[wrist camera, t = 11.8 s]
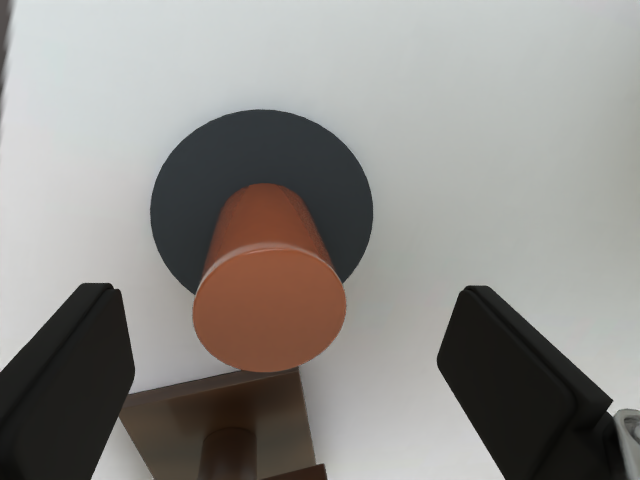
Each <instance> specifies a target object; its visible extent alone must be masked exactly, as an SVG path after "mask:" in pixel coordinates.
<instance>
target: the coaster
mask: <svg viewBox="0 0 640 480" xmlns="http://www.w3.org/2000/svg"><path fill="white" fill-rule="evenodd" d="M259 183H271V184H277V185H281V186H283V187H286V188H288V189H290V190H292V191H293V192H295V193H296V194H297V195H299V196H300V197H301V198H302V199H303V201H304V202H305V203H306V205H307V206H308V208H309V210H310V212H311V215H312V217H313V219H314V222H315V224H316V226H317V228H318V231H319V233H320V235H321V237H322V240H323V242H324V244H325V246H326V249H327V251H328V253H329V256H330V258H331V260H332V262H333V265H334V267H335V269H336V271H337V274H338V276H339V278H340V280H341V283H343V282H344V281H345V280H346V279H347V278H348V277H349V276H350V275H351V274H352V272H353V271H354V269H355V268H356V267H357V265H358V264H359V262H360V260H361V258H362V256H363V254H364V252H365V250H366V247H367V245H368V242H369V238H370V234H371V230H372V222H373V203H372V196H371V191H370V187H369V184H368V181H367V178H366V176H365V174H364V171H363V169H362V167H361V165H360V164H359V162H358V161H357V159H356V158H355V156H354V155H353V153H352V152H351V151H350V150H349V149H348V148H347V146H346V145H345V144H344V143H343V142H342V141H341V140H339V139H338V138H337V137H336V136H335V135H334V134H332V133H331V132H329V131H328V130H326V129H325V128H323V127H322V126H320V125H319V124H317V123H315V122H312V121H310V120H308V119H306V118H304V117H301V116H298V115H295V114H291V113H288V112H282V111H276V110H248V111H240V112H236V113H232V114H228V115H224V116H222V117H220V118H217V119H215V120H212V121H210V122H208V123H207V124H205V125H203V126H201V127H200V128H198V129H196V130H195V131H194V132H193V133H191V134H190V135H189V136H188V137H186V138H185V139H184V140H183V141H182V142H181V143H180V144H179V145H178V146H177V147H176V148H175V149H174V150H173V151H172V153H171V154H170V155H169V157H168V158H167V160H166V161H165V163H164V164H163V166H162V168H161V170H160V172H159V175H158V177H157V179H156V182H155V186H154V189H153V193H152V199H151V207H150V215H151V227H152V232H153V237H154V240H155V243H156V246H157V249H158V251H159V253H160V255H161V257H162V259H163V261H164V263H165V264H166V266H167V267H168V269H169V270H170V272H171V273H172V274H173V275H174V277H175V278H176V279H177V280H178V281H179V282H180V283H181V284H182V285H183V286H184V287H186V288H187V289H188V290H189V291H190V292H191V293H193V294H194V295H196V291H197V288H198V284H199V281H200V277H201V274H202V270H203V267H204V263H205V260H206V256H207V253H208V249H209V245H210V242H211V238H212V235H213V231H214V228H215V224H216V221H217V217H218V214H219V212H220V209H221V208H222V206H223V204H224V203H225V202H226V200H227V199H228V198H229V197H230V196H231V195H233V194H234V193H235V192H237V191H238V190H240V189H242V188H244V187H247V186H249V185H253V184H259Z"/></svg>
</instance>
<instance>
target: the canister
mask: <svg viewBox="0 0 640 480" xmlns="http://www.w3.org/2000/svg"><path fill="white" fill-rule="evenodd" d="M346 307H347V304H346V295H345V290H344V288H343V285H342V283H341V280H340V278H339V276H338V274H337V271H336V269H335V267H334V265H333V262H332V260H331V258H330V256H329V253H328V251H327V249H326V246H325V244H324V242H323V240H322V237H321V235H320V233H319V231H318V228H317V226H316V224H315V222H314V219H313V217H312V215H311V212H310V210H309V208H308V206H307V205H306V203H305V202H304V201H303V199H302V198H301V197H300V196H299V195H297V194H296V193H295V192H293V191H292V190H290V189H288V188H286V187H283V186H281V185H277V184H271V183H259V184H253V185H249V186H247V187H244V188H242V189H240V190H238V191H237V192H235V193H234V194H233V195H231V196H230V197H229V198H228V199H227V200H226V202H225V203H224V204H223V206H222V208H221V209H220V212H219V214H218V217H217V221H216V224H215V228H214V231H213V235H212V238H211V242H210V245H209V249H208V253H207V256H206V260H205V263H204V267H203V270H202V274H201V277H200V281H199V284H198V288H197V291H196V295H195V298H194V303H193V308H192V319H193V325H194V328H195V331H196V334H197V336H198V338H199V340H200V342H201V343H202V345H203V346H204V347H205V349H206V350H207V351H208V352H209V353H210V354H211V355H213V356H214V357H215V358H217V359H218V360H220V361H222V362H223V363H225V364H227V365H229V366H232V367H234V368H238V369H241V370H245V371H251V372H277V371H282V370H287V369H291V368H294V367H297V366H299V365H302V364H304V363H306V362H308V361H310V360H312V359H313V358H315V357H316V356H318V355H319V354H321V353H322V352H323V351H324V350H325V349H326V348H327V347H328V346H329V345H330V344H331V343H332V342H333V341H334V339H335V338H336V337H337V335H338V333H339V331H340V330H341V327H342V325H343V322H344V319H345V315H346Z"/></svg>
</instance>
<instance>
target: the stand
mask: <svg viewBox="0 0 640 480" xmlns="http://www.w3.org/2000/svg"><path fill="white" fill-rule="evenodd" d="M118 417H119V418H120V420H121V422H122V423H123V425H124V427H125V429H126V430H127V432H128V434H129V436H130V437H131V439H132V441H133V443H134V444H135V446H136V448H137V449H138V451H139V453H140V455H141V456H142V458H143V460H144V462H145V463H146V465H147V467H148V469H149V470H150V472H151V474H152V475H153V477H154V479H155V480H328V479H327V474H326V469H325V465H324V464H319V465H316V460H315V454H314V449H313V443H312V438H311V432H310V427H309V421H308V416H307V410H306V405H305V399H304V393H303V388H302V382H301V377H300V371H299V366H297V367H294V368H291V369H287V370H282V371H277V372H251V371H245V370H243V371H238V372H234V373H229V374H224V375H220V376H215V377H210V378H206V379H201V380H196V381H192V382H187V383H182V384H178V385H173V386H168V387H164V388H159V389H154V390H150V391H145V392H140V393H136V394H131V395H127V397H126V400H125V402H124V404H123V406H122V409H121V411H120V413H119V416H118Z"/></svg>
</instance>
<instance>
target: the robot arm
mask: <svg viewBox="0 0 640 480" xmlns="http://www.w3.org/2000/svg"><path fill="white" fill-rule="evenodd" d="M437 365H438V368H439V370H440V372H441V374H442V375H443V377H444V379H445V380H446V382H447V383H448V385H449V387H450V388H451V390H452V392H453V393H454V395H455V397H456V398H457V400H458V402H459V403H460V405H461V407H462V408H463V410H464V412H465V413H466V415H467V417H468V418H469V420H470V422H471V423H472V425H473V427H474V428H475V430H476V432H477V433H478V435H479V437H480V438H481V440H482V442H483V443H484V445H485V446H486V448H487V450H488V451H489V453H490V455H491V456H492V458H493V460H494V461H495V463H496V465H497V466H498V468H499V470H500V471H501V473H502V475H503V476H504V478H505V480H640V411H638V410H633V409H622V410H619V411H618V412H617V413H616V414H615V415H614V417H612V416H611V415H610V414H609V413H608V412H607V409H608V408H609V406H610V405H611V403H612V402H613V400H612V399H611V398H610V397H609V396H608V395H607V394H606V393H605V392H604V391H602V390H601V389H600V388H599V387H598V386H597V385H596V384H595V383H594V382H593V381H592V380H590V379H589V378H588V377H587V376H586V375H585V374H584V373H583V372H582V371H581V370H580V369H579V368H577V367H576V366H575V365H574V364H573V363H572V362H571V361H570V360H569V359H568V358H567V357H565V356H564V355H563V354H562V353H561V352H560V351H559V350H558V349H557V348H556V347H555V346H553V345H552V344H551V343H550V342H549V341H548V340H547V339H546V338H545V337H544V336H543V335H541V334H540V333H539V332H538V331H537V330H536V329H535V328H534V327H533V326H532V325H531V324H529V323H528V322H527V321H526V320H525V319H524V318H523V317H522V316H521V315H520V314H519V313H517V312H516V311H515V310H514V309H513V308H512V307H511V306H510V305H509V304H508V303H507V302H506V301H504V300H503V299H502V298H501V297H500V296H499V295H498V294H497V293H496V292H495V291H494V290H492V289H491V288H490V287H488V286H466V287H465V288H464V290H463V291H461V292H460V293H459V295H458V298H457V301H456V304H455V307H454V310H453V312H452V315H451V318H450V321H449V324H448V327H447V330H446V333H445V335H444V338H443V341H442V344H441V347H440V350H439V353H438V356H437ZM134 376H135V366H134V360H133V355H132V349H131V344H130V338H129V333H128V327H127V322H126V316H125V311H124V305H123V300H122V294H121V291H120V290H119V289H114V288H113V286H112V284H110V283H83V284H81V285H80V286H79V287H78V288H77V289H76V290H75V291H74V292H73V293H72V295H71V296H70V297H69V298H68V299H67V300H66V301H65V302H64V303H63V305H62V306H61V307H60V308H59V309H58V310H57V311H56V312H55V313H54V315H53V316H52V317H51V318H50V319H49V320H48V321H47V322H46V323H45V324H44V326H43V327H42V328H41V329H40V330H39V331H38V332H37V333H36V334H35V336H34V337H33V338H32V339H31V340H30V341H29V342H28V343H27V344H26V345H25V346H24V347H23V348H22V349H21V350H20V351H19V352H18V354H17V355H16V356H15V357H14V358H13V359H12V360H11V361H10V362H9V363H8V365H7V366H6V367H5V368H4V369H3V370H2V371H1V372H0V480H91V477H92V475H93V473H94V471H95V468H96V466H97V464H98V461H99V459H100V457H101V455H102V452H103V450H104V448H105V445H106V443H107V441H108V438H109V436H110V434H111V432H112V429H113V427H114V425H115V422H116V420H117V418H118V416H119V413H120V411H121V409H122V406H123V404H124V402H125V400H126V397H127V395H128V393H129V390H130V388H131V386H132V383H133V380H134Z"/></svg>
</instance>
